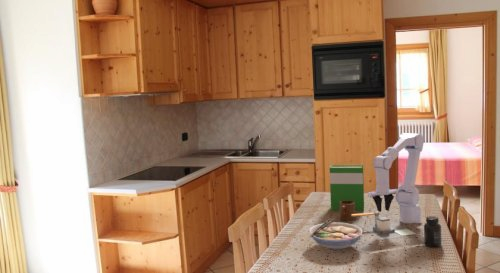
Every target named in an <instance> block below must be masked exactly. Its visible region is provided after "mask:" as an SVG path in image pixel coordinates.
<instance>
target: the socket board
mask: <svg viewBox="0 0 500 273" xmlns="http://www.w3.org/2000/svg"><path fill="white" fill-rule="evenodd" d="M379 216H380V214H379V215H374V225H370V226H364V227H362V229H363V230H364V231H366V232H368V233H369V234H371V235H372V236H375V237H376V238H378V239H379V240H381V241H383V240H389V239H395V238H401V237H403V238H404V237H409V236H415V235H417V233H416V232H414V231H412V230H410V229H408V228H406V227H404V226H402V225H400V224H398V223H396V222H392V223H391V222H390V230H384V231H381V230H379V229H378V226H377V218H378V217H379Z"/></svg>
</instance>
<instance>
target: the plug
mask: <svg viewBox="0 0 500 273" xmlns="http://www.w3.org/2000/svg"><path fill="white" fill-rule="evenodd" d="M390 223H391V219H390V218H389V217H387V216H380V217H378V218H377V226H378V229H379V230H381V231H384V230H390Z"/></svg>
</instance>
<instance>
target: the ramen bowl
mask: <svg viewBox="0 0 500 273" xmlns="http://www.w3.org/2000/svg"><path fill="white" fill-rule="evenodd" d="M334 221H335V219H334V218H332V219H331V218H327V220H325V222H324V223H319V224H316V225H314V226H311V227H310V229H309V230H308V232H309V233H310V236H309V238H312V239H313V241H314V242H316V243H317V244H318V245H319V246H321V247H324V248H328V249H329V250H333V251H339V250H343V249H347V248H350V247H351V246H353V245H355V244H356V243H357V242H358V241H359V240H360V238H361V236H362V234H363V230H364V229H363V228H362V227H359V226H358V225H355V224H351V223H346V222H334ZM362 229H363V230H362Z"/></svg>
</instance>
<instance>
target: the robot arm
mask: <svg viewBox="0 0 500 273" xmlns="http://www.w3.org/2000/svg"><path fill="white" fill-rule="evenodd" d="M424 142H425V139H424V137H423V134H421V133H408V132H402V133H401V134H400V135H399V137H398V140H397V141H396V143H395V144H394V145H393V146H388V147H387V149H386V150H384V152H382V153H381V154H380V155H377V156H375V157H374V159H373V162H372V165H373V167H374V171H375V180H376V181H375V182H376V184H375V186H376V188H375V190H373V191H370V192H367V197H368V198H372V199H373V201H374V204H375V205H376V211H377V212H379V213H380V212H381V213H382V202H383V199H384V209H385V210H386V211H390V208H391V204H392V202H393V200H394V198H395V201H396V202H397V205H399V222H401V223H403V224H414V223H415V224H422V218H421V217H422V215H421V213H422V210H421V207H420V205H419V204H418V203H419V201H420V195H419V193H420V190H419V189H418V188H417V187H416V186H415V184H416V179H417V173H418V167H419V164H420V162H419V161H420V157H421V152H422V151H423V148H424ZM402 150H405V151H407V153H408V156H407V162H406V167H405V174H404V178H403V183H402V184H401V185H400V186H398V188H397V189H396V188H394V189H393V188H392V189H390V169H391V168H392V164H393V162H394V161H395V160H396V159H397V158H398V157H399V153H400V152H401V151H402ZM394 195H395V196H394ZM382 197H383V198H382Z"/></svg>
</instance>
